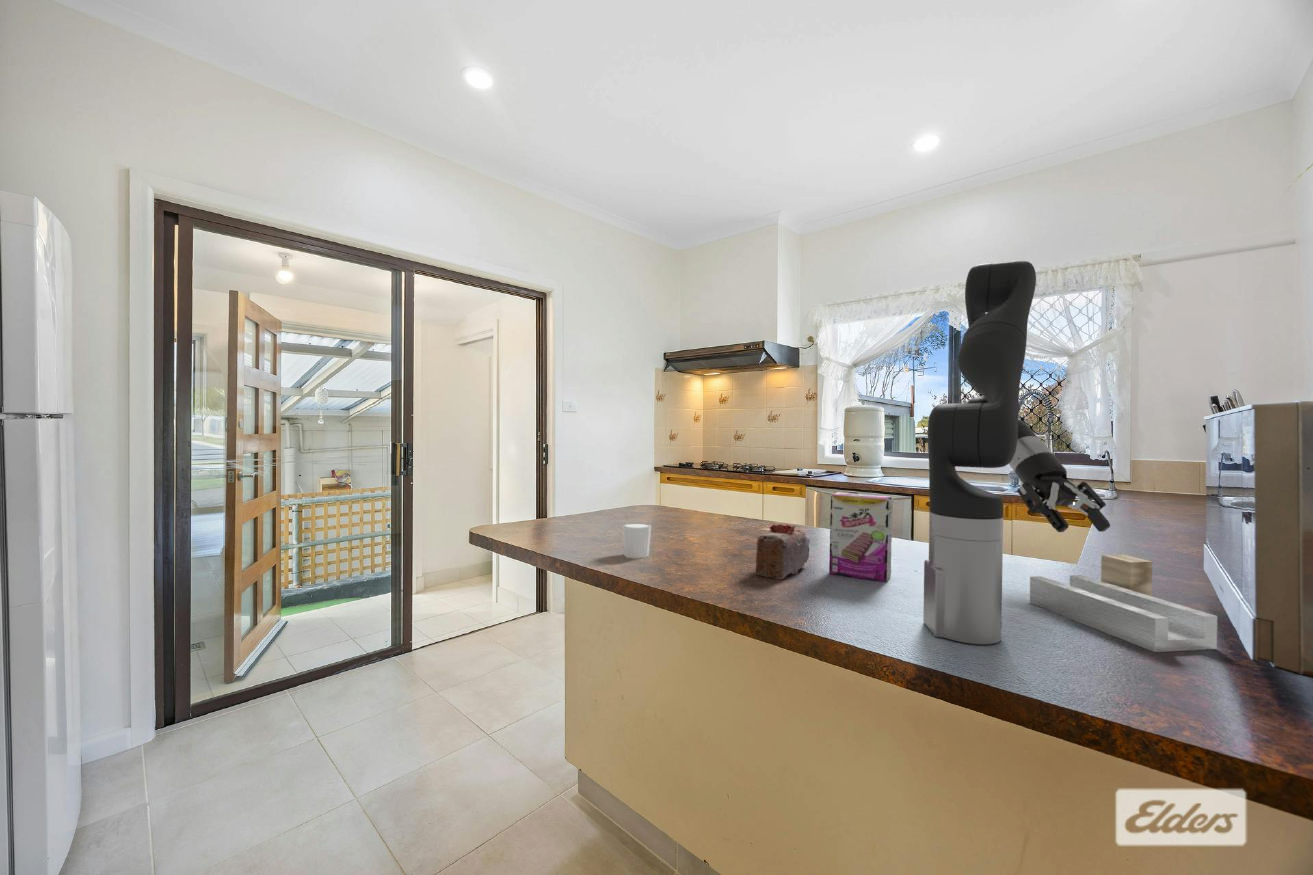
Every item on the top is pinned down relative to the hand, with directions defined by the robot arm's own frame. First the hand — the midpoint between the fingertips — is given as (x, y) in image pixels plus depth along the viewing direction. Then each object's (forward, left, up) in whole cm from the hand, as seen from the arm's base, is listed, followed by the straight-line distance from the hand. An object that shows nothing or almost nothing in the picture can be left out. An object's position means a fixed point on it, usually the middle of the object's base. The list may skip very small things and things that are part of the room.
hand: (1084, 529), depth 96 cm
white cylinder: (-87, +5, -12) cm, 88 cm away
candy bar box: (-39, 0, -12) cm, 40 cm away
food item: (-54, 0, -12) cm, 55 cm away
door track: (-5, -18, -11) cm, 22 cm away
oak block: (+3, -7, -11) cm, 14 cm away
